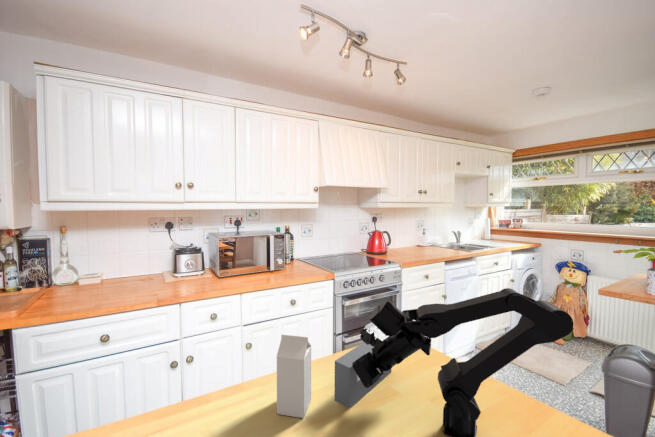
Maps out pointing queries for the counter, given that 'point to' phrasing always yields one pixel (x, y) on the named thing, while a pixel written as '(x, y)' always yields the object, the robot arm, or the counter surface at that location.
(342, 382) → the console
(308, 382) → the milk carton
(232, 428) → the counter surface
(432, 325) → the robot arm
